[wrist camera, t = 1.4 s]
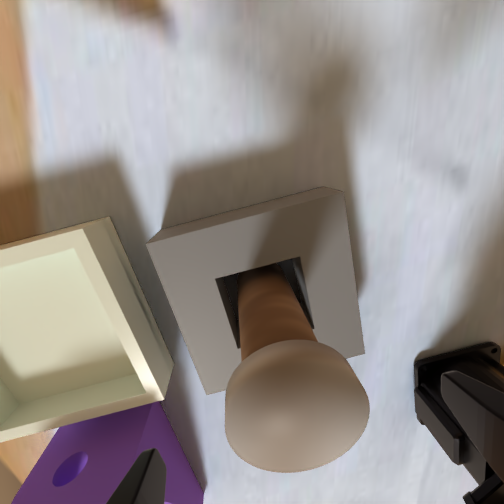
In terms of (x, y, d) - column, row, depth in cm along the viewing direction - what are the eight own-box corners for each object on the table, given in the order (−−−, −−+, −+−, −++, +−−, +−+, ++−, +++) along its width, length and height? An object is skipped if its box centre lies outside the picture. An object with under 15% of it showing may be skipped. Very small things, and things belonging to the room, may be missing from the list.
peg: (286, 242, 17) (361, 344, 7) (299, 301, 18) (375, 452, 9) (219, 260, 17) (205, 385, 7) (237, 318, 18) (245, 486, 9)
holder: (323, 186, 16) (343, 191, 13) (344, 325, 19) (364, 353, 16) (160, 229, 16) (145, 244, 13) (210, 360, 19) (206, 395, 16)
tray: (109, 216, 15) (82, 228, 12) (174, 364, 19) (164, 399, 16) (-74, 264, 15) (-142, 287, 13) (25, 403, 19) (-11, 445, 16)
